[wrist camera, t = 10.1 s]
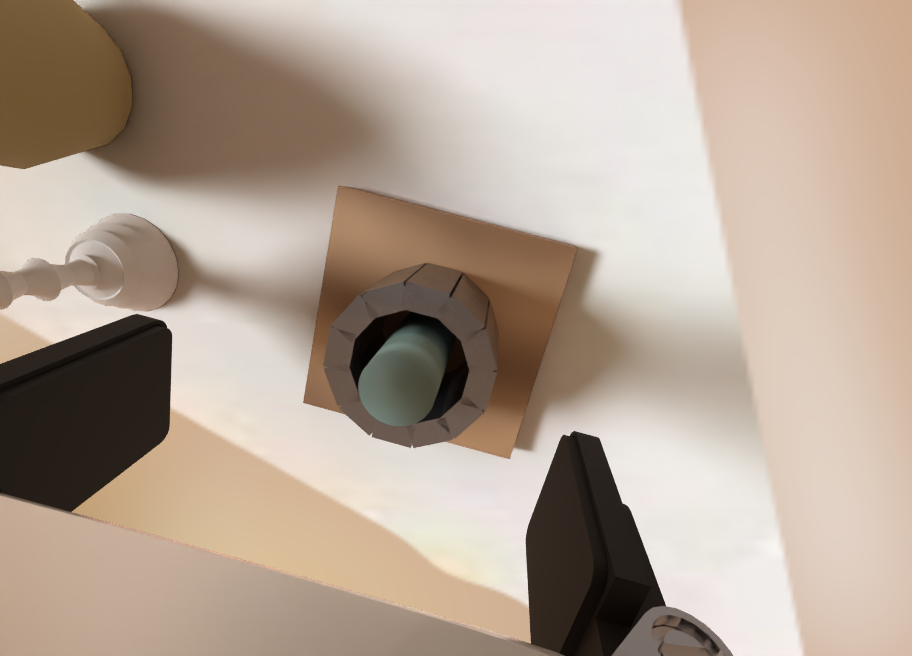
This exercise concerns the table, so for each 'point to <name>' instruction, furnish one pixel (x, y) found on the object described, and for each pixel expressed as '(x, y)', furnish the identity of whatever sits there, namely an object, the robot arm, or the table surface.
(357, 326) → the ring
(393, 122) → the table surface
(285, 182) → the table surface
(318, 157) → the table surface
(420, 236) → the post stand
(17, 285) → the chalice
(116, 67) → the squeeze bottle
